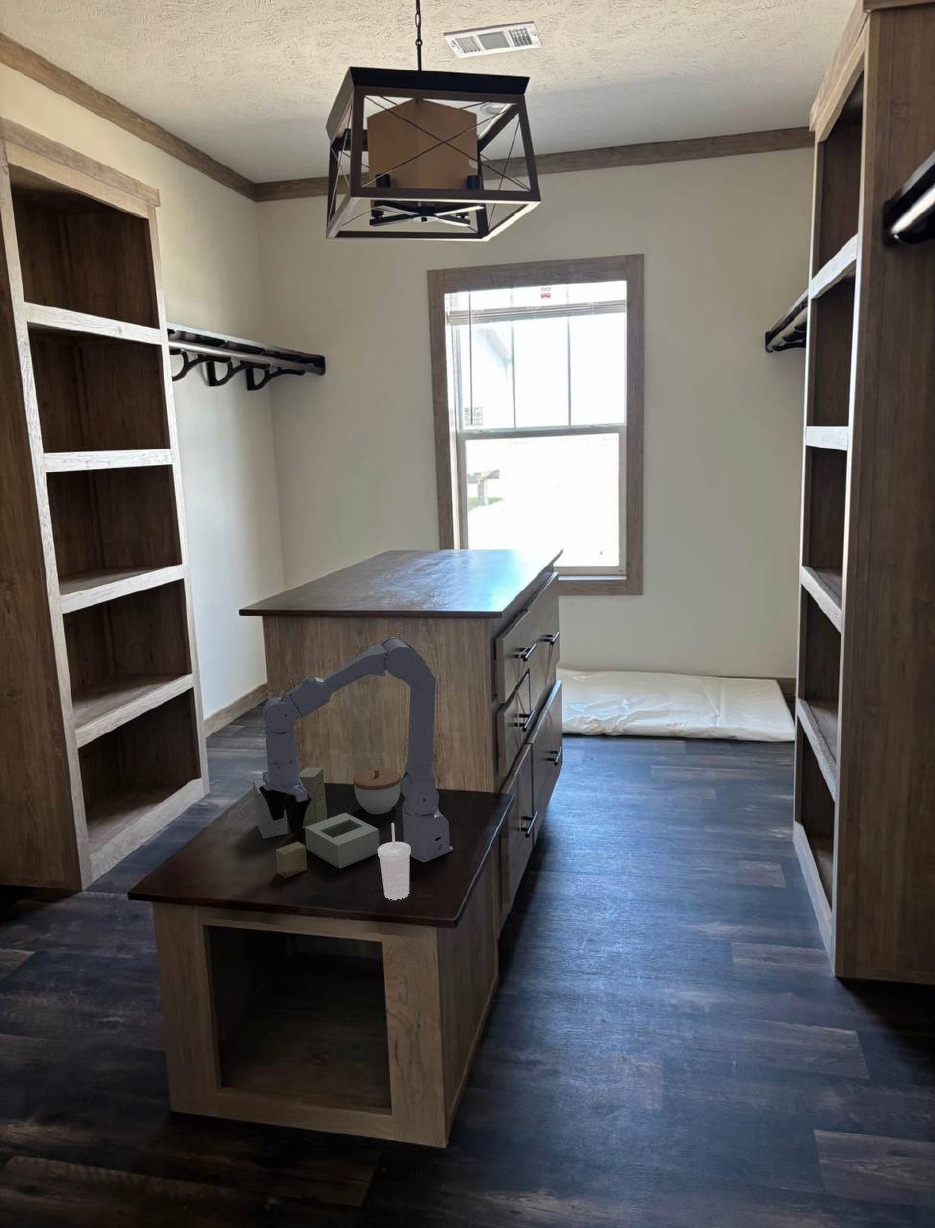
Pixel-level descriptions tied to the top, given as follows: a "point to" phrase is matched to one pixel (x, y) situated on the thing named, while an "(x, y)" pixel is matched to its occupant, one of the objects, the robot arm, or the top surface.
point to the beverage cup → (395, 868)
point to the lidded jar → (377, 789)
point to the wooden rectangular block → (291, 859)
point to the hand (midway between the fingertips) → (287, 825)
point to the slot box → (342, 840)
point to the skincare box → (314, 795)
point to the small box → (267, 815)
